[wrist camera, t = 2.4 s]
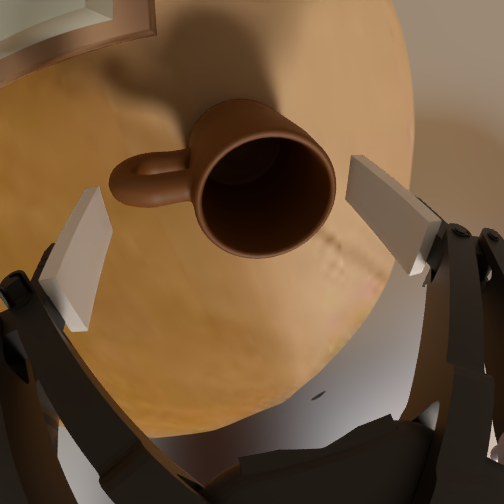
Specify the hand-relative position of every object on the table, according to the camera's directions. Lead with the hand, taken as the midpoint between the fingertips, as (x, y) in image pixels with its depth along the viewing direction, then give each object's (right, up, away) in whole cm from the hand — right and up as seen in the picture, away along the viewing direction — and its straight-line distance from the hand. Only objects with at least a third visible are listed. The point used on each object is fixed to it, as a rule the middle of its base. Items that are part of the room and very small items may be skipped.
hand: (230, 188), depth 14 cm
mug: (-2, +5, +7) cm, 9 cm away
